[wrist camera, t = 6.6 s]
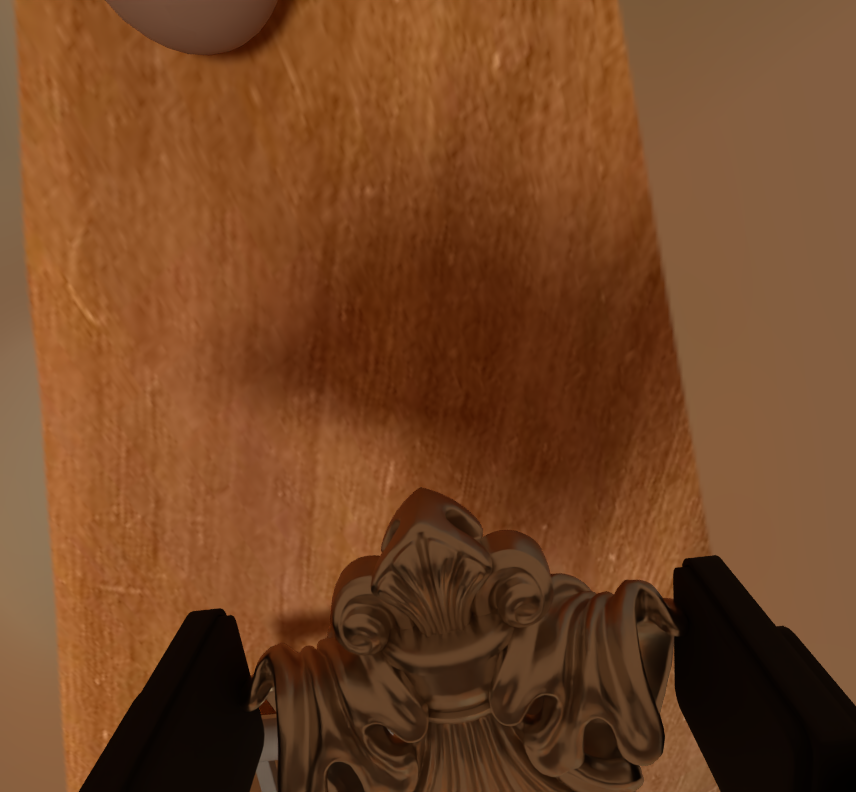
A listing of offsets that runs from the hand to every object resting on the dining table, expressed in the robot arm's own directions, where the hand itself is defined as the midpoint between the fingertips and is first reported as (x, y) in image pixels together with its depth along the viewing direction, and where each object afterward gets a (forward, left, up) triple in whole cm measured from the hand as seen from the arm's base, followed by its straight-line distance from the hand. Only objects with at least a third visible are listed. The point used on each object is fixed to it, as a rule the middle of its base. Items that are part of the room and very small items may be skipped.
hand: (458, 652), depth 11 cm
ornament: (0, 0, -1) cm, 1 cm away
